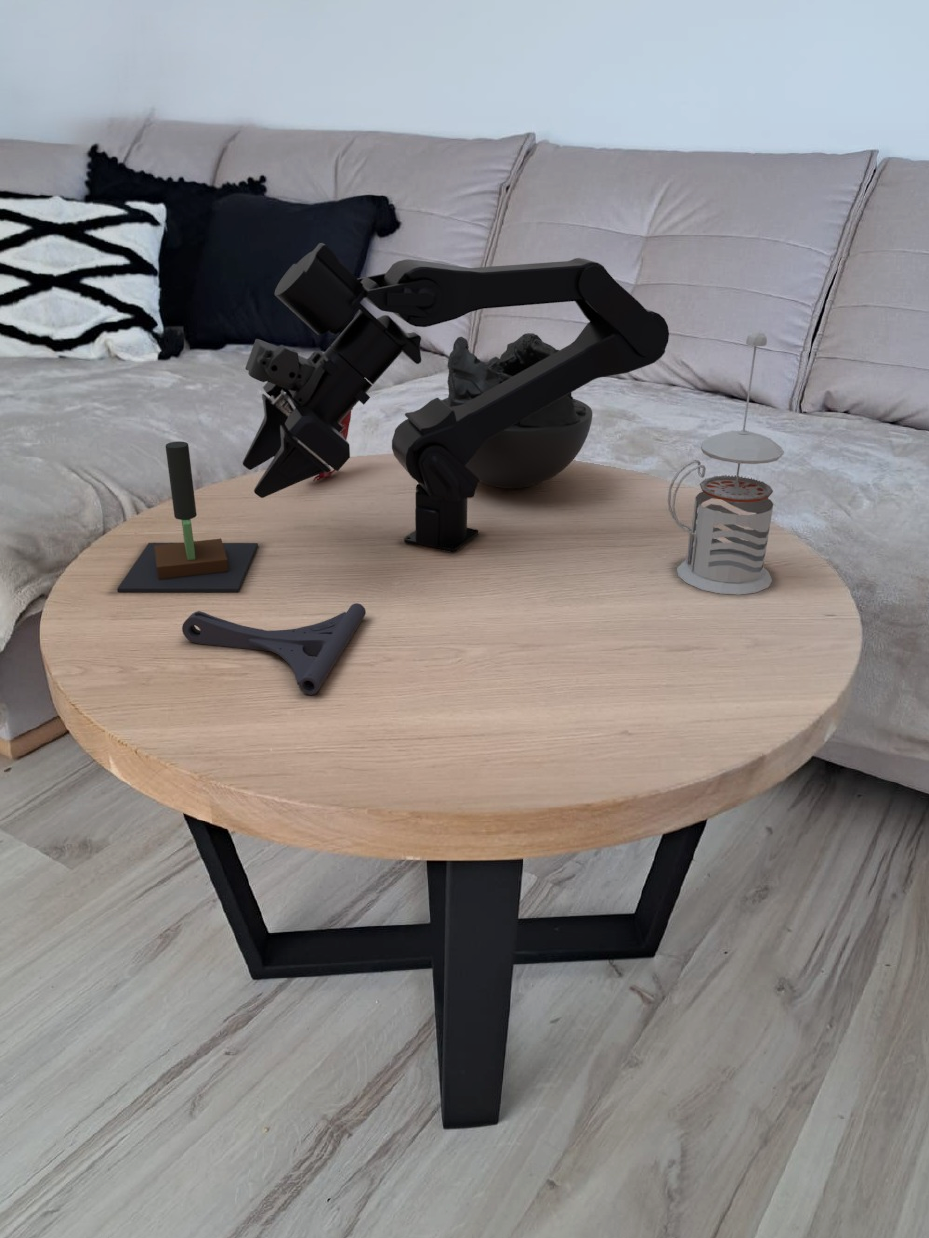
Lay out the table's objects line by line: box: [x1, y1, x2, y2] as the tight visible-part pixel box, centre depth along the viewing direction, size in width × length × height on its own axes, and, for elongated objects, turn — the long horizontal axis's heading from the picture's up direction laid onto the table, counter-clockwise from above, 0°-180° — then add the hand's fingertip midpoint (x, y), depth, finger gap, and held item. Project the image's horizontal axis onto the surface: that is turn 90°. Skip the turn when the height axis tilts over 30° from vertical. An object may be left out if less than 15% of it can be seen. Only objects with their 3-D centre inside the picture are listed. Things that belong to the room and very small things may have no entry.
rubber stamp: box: [154, 440, 228, 579], centre depth 102 cm, size 7×6×13 cm
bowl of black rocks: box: [441, 332, 594, 489], centre depth 126 cm, size 20×20×19 cm
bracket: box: [181, 602, 367, 696], centre depth 89 cm, size 14×15×3 cm
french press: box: [667, 331, 785, 596], centre depth 99 cm, size 10×12×25 cm
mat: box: [116, 542, 259, 593], centre depth 105 cm, size 12×12×1 cm
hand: (251, 480), depth 103 cm, fingers open, 9 cm apart
